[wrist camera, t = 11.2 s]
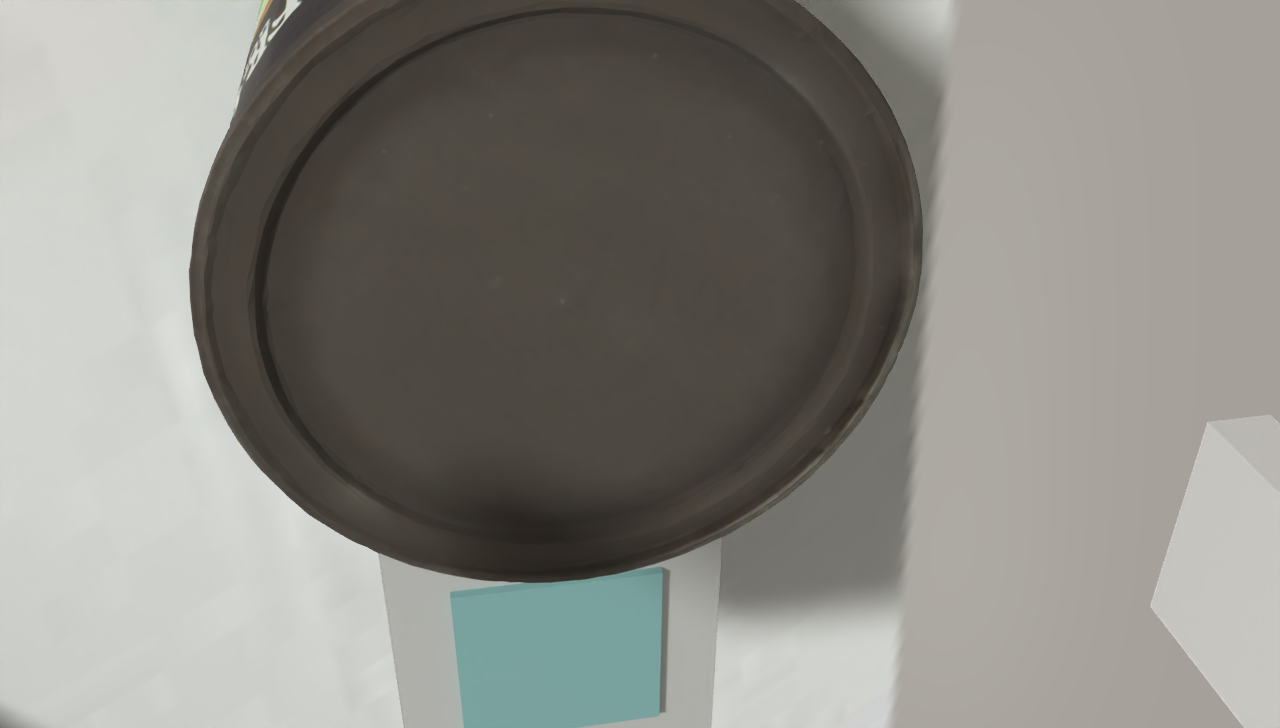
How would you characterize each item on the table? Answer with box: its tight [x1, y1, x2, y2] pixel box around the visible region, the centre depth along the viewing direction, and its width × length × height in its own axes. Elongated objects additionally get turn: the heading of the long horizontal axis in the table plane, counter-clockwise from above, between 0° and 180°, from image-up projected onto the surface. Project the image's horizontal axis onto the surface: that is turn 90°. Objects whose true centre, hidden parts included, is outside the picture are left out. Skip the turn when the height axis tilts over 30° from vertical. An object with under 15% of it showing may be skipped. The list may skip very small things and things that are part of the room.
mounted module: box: [378, 537, 722, 728], centre depth 30 cm, size 7×7×10 cm
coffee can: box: [189, 0, 923, 583], centre depth 23 cm, size 10×10×14 cm
